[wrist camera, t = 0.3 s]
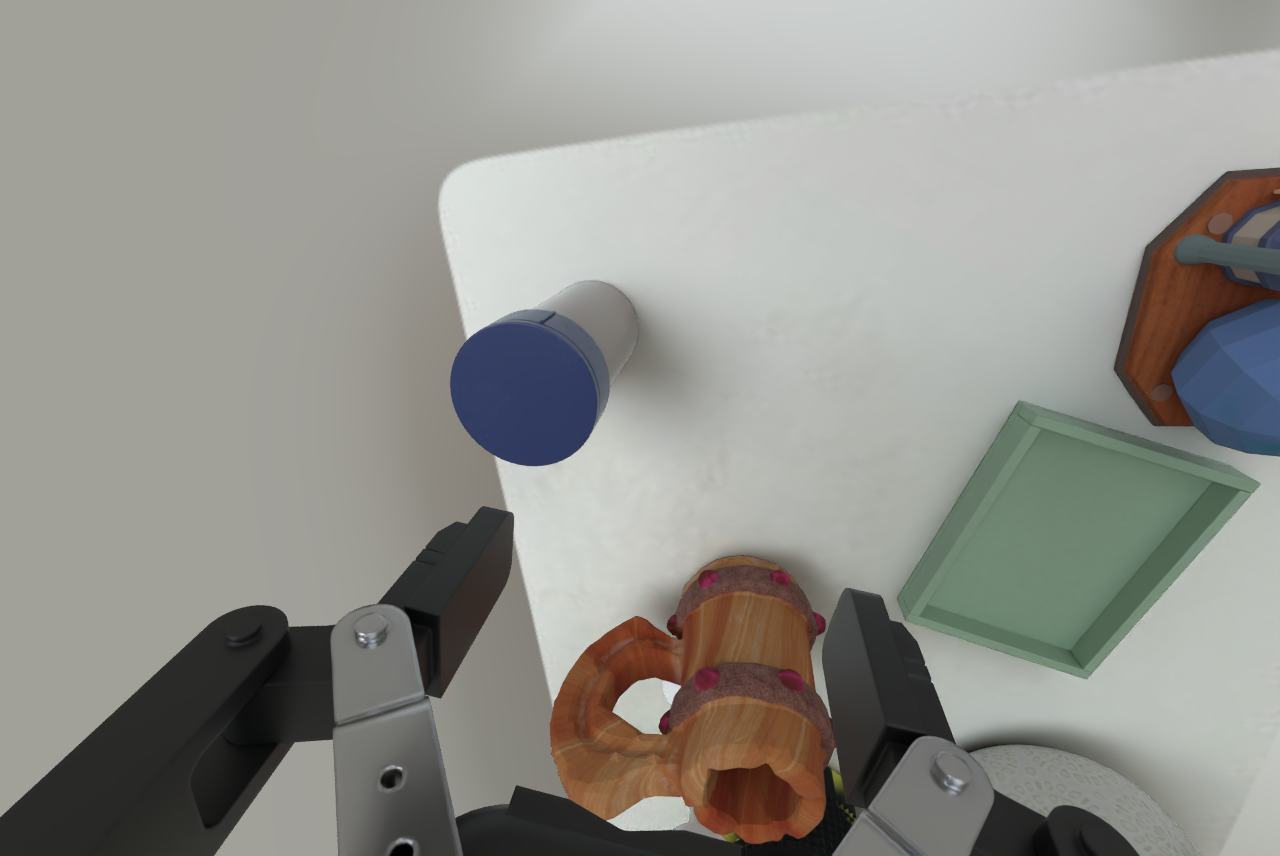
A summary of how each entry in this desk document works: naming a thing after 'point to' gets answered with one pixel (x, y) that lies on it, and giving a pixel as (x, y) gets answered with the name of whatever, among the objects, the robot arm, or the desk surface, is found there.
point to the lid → (530, 387)
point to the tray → (1067, 539)
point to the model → (1212, 317)
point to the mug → (707, 709)
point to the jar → (600, 319)
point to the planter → (1083, 794)
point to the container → (820, 842)
